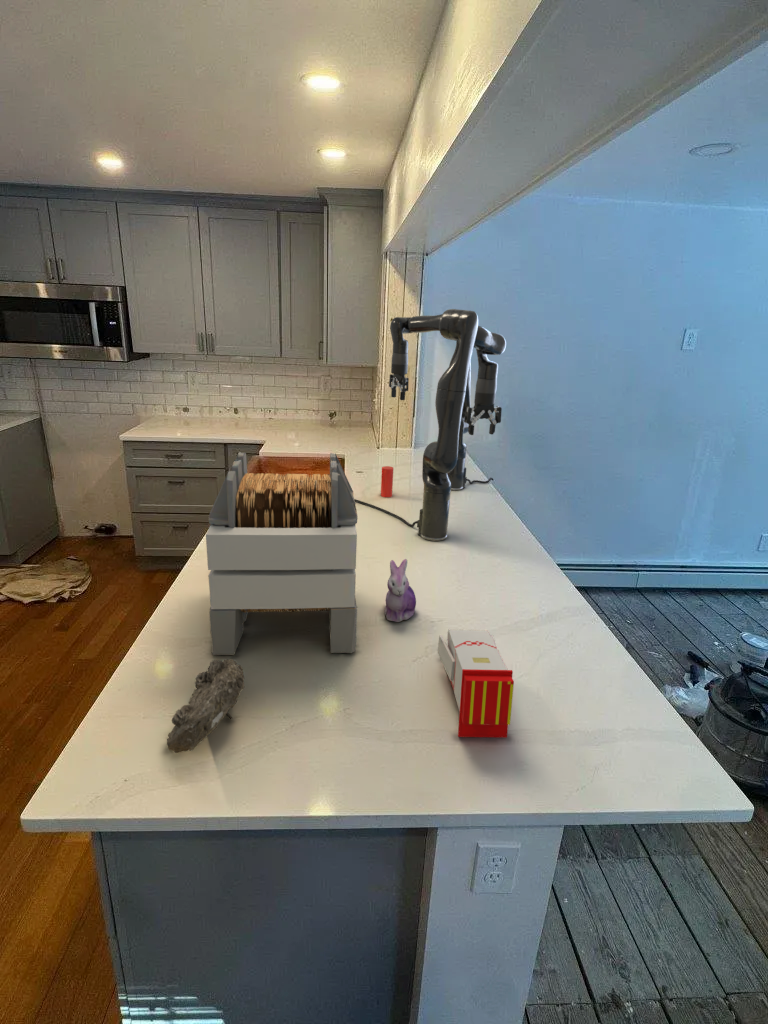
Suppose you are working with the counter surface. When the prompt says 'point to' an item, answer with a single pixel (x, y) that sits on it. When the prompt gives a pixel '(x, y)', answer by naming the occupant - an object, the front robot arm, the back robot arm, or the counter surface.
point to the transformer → (282, 551)
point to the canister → (387, 481)
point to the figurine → (399, 594)
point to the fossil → (206, 705)
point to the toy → (478, 682)
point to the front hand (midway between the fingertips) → (481, 434)
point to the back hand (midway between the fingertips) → (397, 398)
